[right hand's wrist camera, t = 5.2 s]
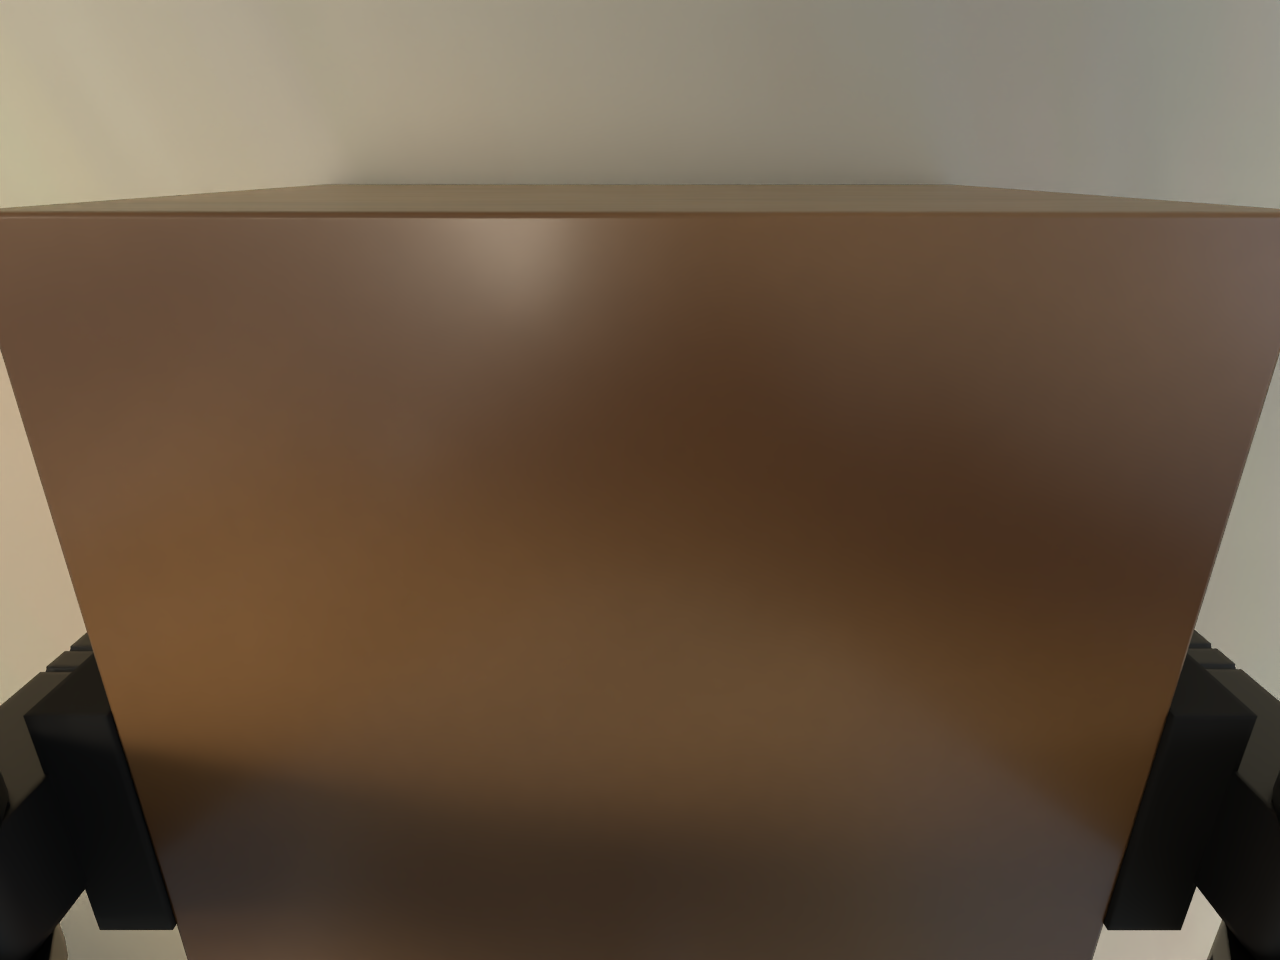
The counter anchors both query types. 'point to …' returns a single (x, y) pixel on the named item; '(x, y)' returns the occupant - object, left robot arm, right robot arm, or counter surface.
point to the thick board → (640, 551)
